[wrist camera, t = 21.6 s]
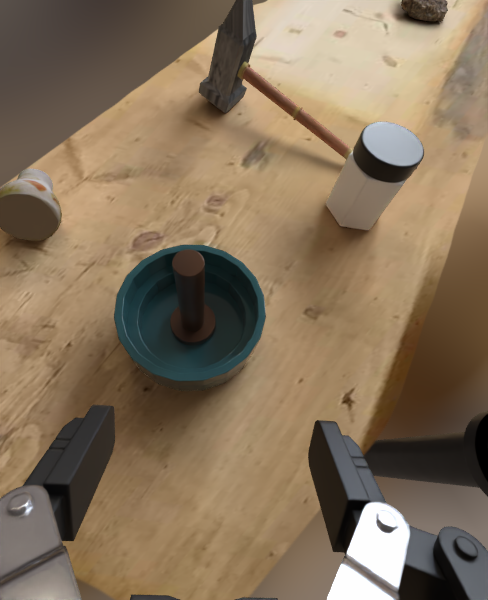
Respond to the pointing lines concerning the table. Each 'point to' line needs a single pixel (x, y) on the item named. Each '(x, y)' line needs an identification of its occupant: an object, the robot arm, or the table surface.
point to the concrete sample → (425, 9)
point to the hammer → (250, 74)
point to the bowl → (163, 301)
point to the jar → (374, 174)
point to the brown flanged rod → (191, 300)
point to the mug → (29, 206)
